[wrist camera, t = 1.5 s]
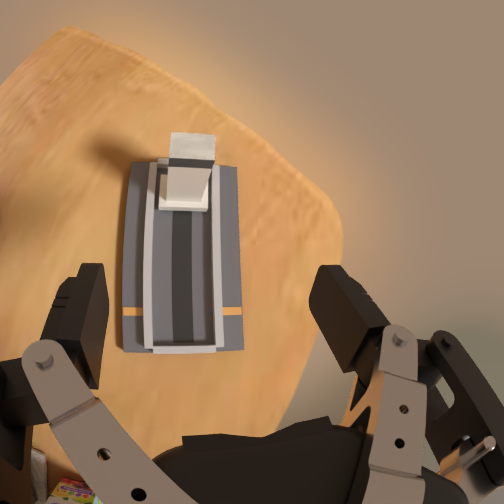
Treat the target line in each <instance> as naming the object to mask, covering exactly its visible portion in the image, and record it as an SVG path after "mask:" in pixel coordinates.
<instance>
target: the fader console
mask: <svg viewBox="0 0 504 504" xmlns="http://www.w3.org/2000/svg"><path fill="white" fill-rule="evenodd" d="M168 163H169V158H158V161H157V162H131V169H130V177H129V186H128V195H127V205H126V216H125V230H124V246H123V271H122V325H123V350H124V352H136V353H153V354H185V353H215V352H216V351H234V350H244V337H243V315H242V292H241V268H240V243H239V216H238V186H237V167H229V166H220V165H213V167H212V170H211V173H210V176H209V179H208V210H207V212H202V211H172V210H159V192H160V179H161V174H163V175H168Z"/></svg>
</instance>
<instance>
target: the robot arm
mask: <svg viewBox="0 0 504 504" xmlns="http://www.w3.org/2000/svg"><path fill="white" fill-rule="evenodd" d="M309 308H310V311H311V313H312V315H313V317H314V319H315V320H316V322H317V324H318V326H319V328H320V330H321V332H322V333H323V335H324V337H325V339H326V341H327V343H328V345H329V347H330V349H331V350H332V352H333V354H334V356H335V358H336V360H337V362H338V363H339V366H340V367H341V369H342V371H343V373H347V372H352V371H356V373H357V375H356V377H355V378H354V382H353V386H352V389H351V393H350V397H349V401H348V405H347V408H346V412H345V416H344V418H343V421H342V422H341V425H332V424H331V421H330V419H329V417H328V416H326V417H321V418H317V419H312V420H308V421H303V422H298V423H295V424H293V425H291V426H289V427H286V428H284V429H282V430H279V431H277V432H275V433H272V434H270V435H268V436H265V437H247V436H237V435H228V434H210V435H194V436H182V443H183V445H181V446H178V447H174V448H172V449H169V450H167V451H165V452H163V453H161V454H159V455H158V456H156V457H155V458H154V459H152V460H151V459H150V458H149V457H148V456H147V455H146V454H145V453H144V451H143V450H142V449H141V448H140V447H139V446H138V445H137V444H136V443H135V441H134V440H133V439H132V438H131V437H130V436H129V435H128V433H127V432H126V431H125V430H124V429H123V427H122V426H121V425H120V424H119V423H118V421H117V420H116V419H115V418H114V416H113V415H112V414H111V413H110V411H109V410H108V409H107V407H106V406H105V405H104V404H103V402H102V401H101V400H100V399H99V398H98V397H97V398H96V397H95V396H94V395H93V393H92V392H91V390H90V389H97V390H98V388H99V378H100V369H101V361H102V354H103V347H104V340H105V334H106V328H107V322H108V316H109V298H108V292H107V285H106V279H105V272H104V266H103V264H102V263H82V264H81V266H80V269H79V271H78V274H77V277H68V278H67V279H66V280H65V281H64V282H63V283H62V284H61V285H60V286H59V289H58V291H57V294H56V296H55V299H54V301H53V304H52V308H51V309H50V312H49V315H48V317H47V320H46V323H45V326H44V329H43V332H42V335H41V338H40V340H39V341H36V342H34V343H32V344H31V345H30V346H28V348H27V349H26V350H25V351H24V353H23V356H22V357H21V358H17V359H12V360H7V361H1V362H0V504H31V450H32V435H33V425H38V424H44V423H49V422H50V424H49V426H50V428H51V430H52V432H53V434H54V435H55V437H56V439H57V440H58V442H59V444H60V445H61V447H62V448H63V450H64V452H65V453H66V455H67V456H68V458H69V459H70V461H71V462H72V464H73V465H74V467H75V468H76V469H77V471H78V472H79V474H80V475H81V476H82V478H83V479H84V480H85V482H86V483H87V485H88V486H89V487H90V488H91V490H92V491H93V492H94V494H95V495H96V496H97V497H98V499H99V500H100V501H101V502H102V503H103V504H478V503H479V502H480V501H482V500H483V499H484V498H485V497H487V496H488V495H489V494H490V493H492V492H494V491H496V490H497V489H499V488H501V487H502V486H504V407H503V405H502V403H501V402H500V400H499V399H498V397H497V395H496V394H495V392H494V391H493V389H492V388H491V386H490V385H489V383H488V382H487V380H486V379H485V377H484V376H483V374H482V373H481V371H480V370H479V368H478V367H477V366H476V364H475V363H474V361H473V360H472V359H471V357H470V356H469V354H468V353H467V352H466V351H465V349H464V347H463V346H462V345H461V343H460V342H459V341H458V340H457V338H456V337H455V336H453V335H452V334H450V333H449V332H446V331H442V330H439V331H436V332H435V333H434V334H433V336H432V337H431V339H430V340H420V339H416V338H415V336H414V335H413V334H412V332H411V331H409V330H408V329H406V328H405V327H402V326H399V325H391V324H390V322H389V321H388V320H387V318H386V317H385V316H384V314H383V313H382V312H381V310H380V309H379V308H378V307H377V305H376V304H375V302H373V300H372V299H371V297H370V296H369V295H367V292H366V291H365V289H364V288H363V287H362V285H361V284H359V283H358V282H357V281H355V280H354V279H353V278H351V277H349V276H348V274H347V273H346V272H345V271H344V269H343V268H342V267H341V266H340V265H321V266H320V267H319V269H318V271H317V274H316V277H315V281H314V284H313V287H312V290H311V293H310V296H309ZM441 377H444V379H445V380H446V382H447V383H448V385H449V387H450V388H451V390H452V391H453V393H454V397H455V400H454V404H453V405H452V407H451V408H450V409H449V408H448V406H447V404H446V403H445V401H444V399H443V397H442V396H441V394H440V393H439V391H438V389H437V388H436V386H435V385H436V384H437V382H438V381H439V380H440V379H441ZM425 437H426V439H427V441H428V443H429V445H430V447H431V449H432V451H433V453H434V455H435V457H436V460H437V462H438V464H439V466H440V471H438V472H437V473H435V472H433V471H431V470H429V469H427V468H425V467H423V466H422V459H423V449H424V439H425Z"/></svg>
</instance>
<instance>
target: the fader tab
mask: <svg viewBox="0 0 504 504" xmlns="http://www.w3.org/2000/svg"><path fill="white" fill-rule="evenodd" d="M214 162H215V135H210V134H196V133H180V132H171V140H170V151H169V163H168V175H163V174H161V179H160V192H159V210H172V211H202V212H207V210H208V179H209V176H210V173H211V170H212V167H213V165H214Z"/></svg>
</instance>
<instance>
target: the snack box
mask: <svg viewBox="0 0 504 504" xmlns="http://www.w3.org/2000/svg"><path fill="white" fill-rule="evenodd" d="M44 504H103V503H102V502H101V501H100V500H99V499H98V497H97V496H96V495H95V494H94V492H93V491H92V490H91V488H90V487H89V486H88V485H87V483H84V482H79V481H75V480H71V479H66V478H63V477H62V478H61V480H60V481H59V483H58V484H57V486H56V487H55V489H54V490H53V492H52V493H51V495H50V496H49V498H48V499H47V501H46V502H45V503H44Z"/></svg>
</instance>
